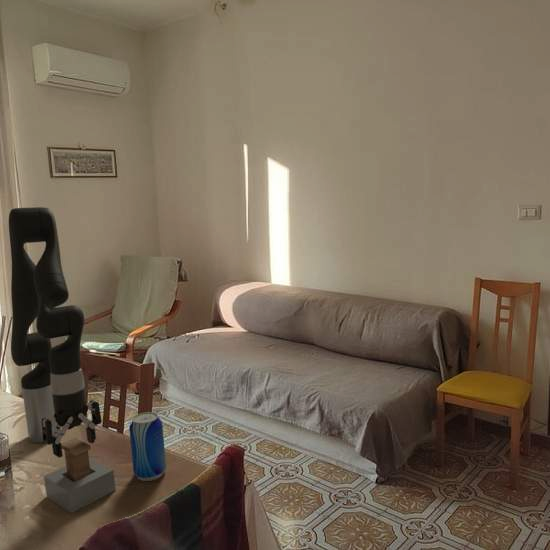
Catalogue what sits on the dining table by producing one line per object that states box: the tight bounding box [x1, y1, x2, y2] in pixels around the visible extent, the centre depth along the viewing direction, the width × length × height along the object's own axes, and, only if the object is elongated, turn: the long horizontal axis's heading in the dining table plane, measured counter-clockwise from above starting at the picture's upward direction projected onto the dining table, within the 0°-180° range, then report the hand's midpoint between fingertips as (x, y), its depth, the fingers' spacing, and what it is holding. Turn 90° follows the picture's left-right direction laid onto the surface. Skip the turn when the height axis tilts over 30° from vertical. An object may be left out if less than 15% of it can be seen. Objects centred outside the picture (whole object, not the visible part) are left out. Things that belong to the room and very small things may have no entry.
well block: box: [43, 456, 116, 514], centre depth 134 cm, size 12×12×6 cm
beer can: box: [128, 411, 167, 482], centre depth 140 cm, size 8×8×16 cm
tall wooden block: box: [61, 437, 92, 482], centre depth 133 cm, size 7×4×12 cm, turn 50°
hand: (75, 449), depth 132 cm, fingers open, 8 cm apart
